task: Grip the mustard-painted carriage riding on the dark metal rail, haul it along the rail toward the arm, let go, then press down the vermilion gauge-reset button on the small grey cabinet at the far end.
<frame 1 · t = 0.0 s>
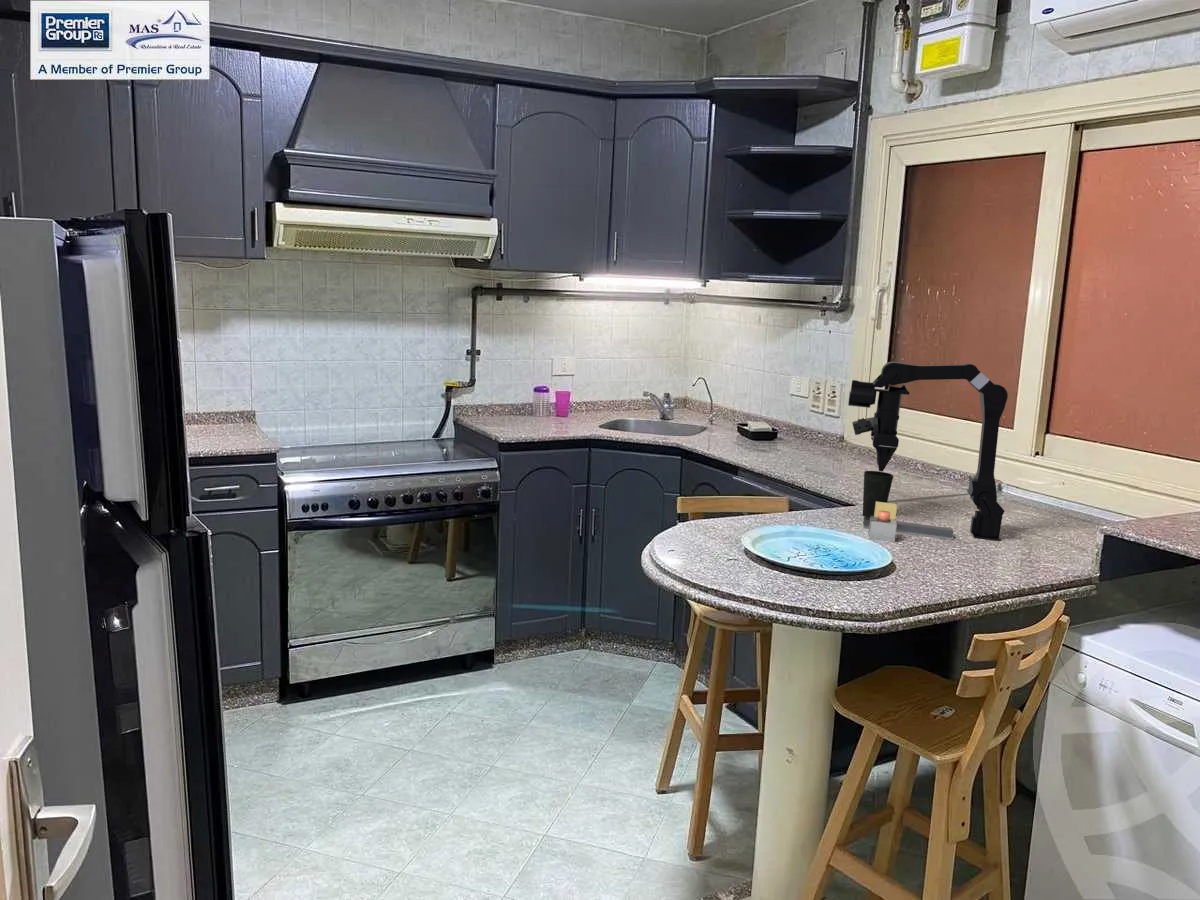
hand: (880, 468, 248), 15 cm above the breakfast bar, fingers open, 9 cm apart
rail: (906, 531, 243), on the breakfast bar
carriage: (884, 514, 243), point 4 cm above the breakfast bar, slide at 6.0 cm
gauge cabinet: (881, 537, 234), on the breakfast bar
reset button: (884, 515, 233), point 6 cm above the breakfast bar, slide at 0.0 cm
cup: (872, 517, 257), on the breakfast bar
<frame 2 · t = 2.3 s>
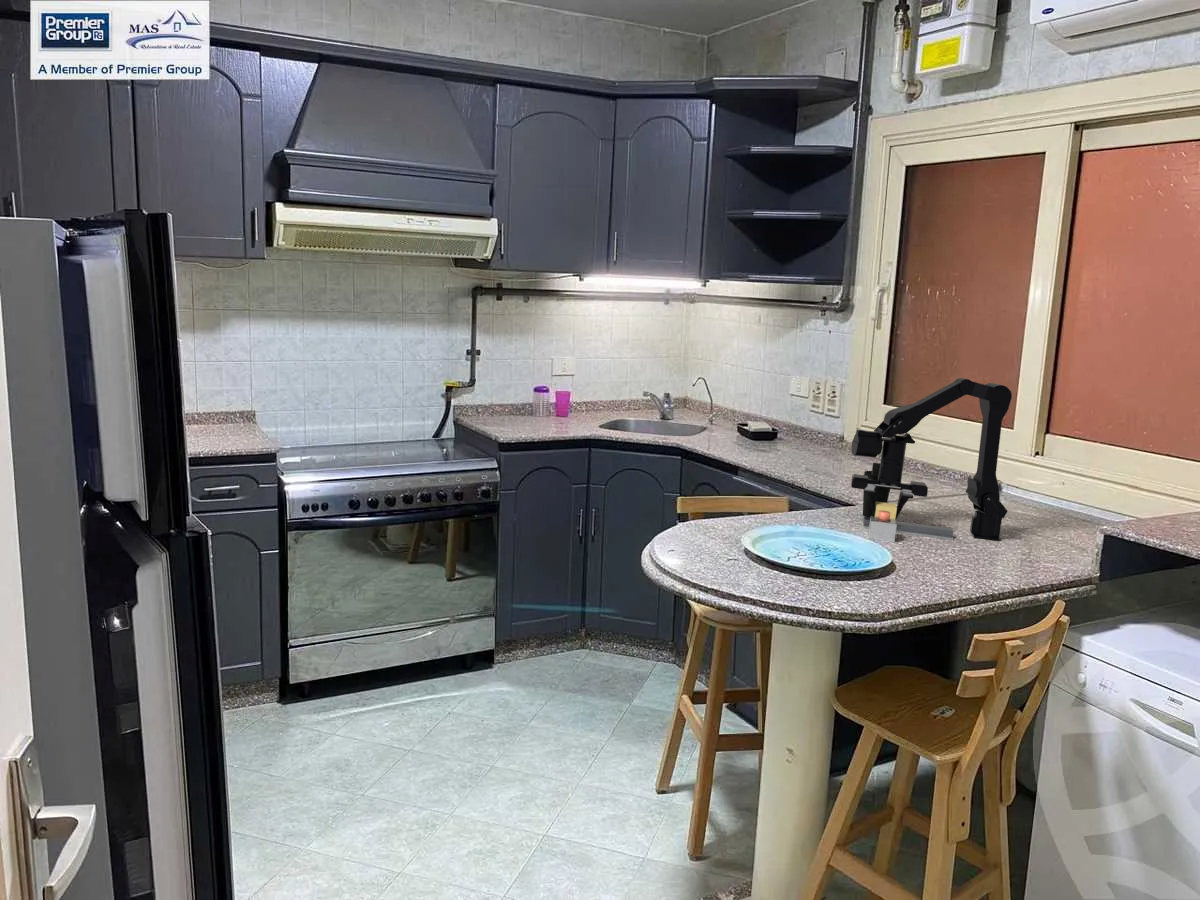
hand: (884, 517, 244), 3 cm above the breakfast bar, fingers closed on carriage, 5 cm apart
carriage: (884, 514, 243), point 4 cm above the breakfast bar, slide at 6.0 cm, touching gripper
everything else where it was.
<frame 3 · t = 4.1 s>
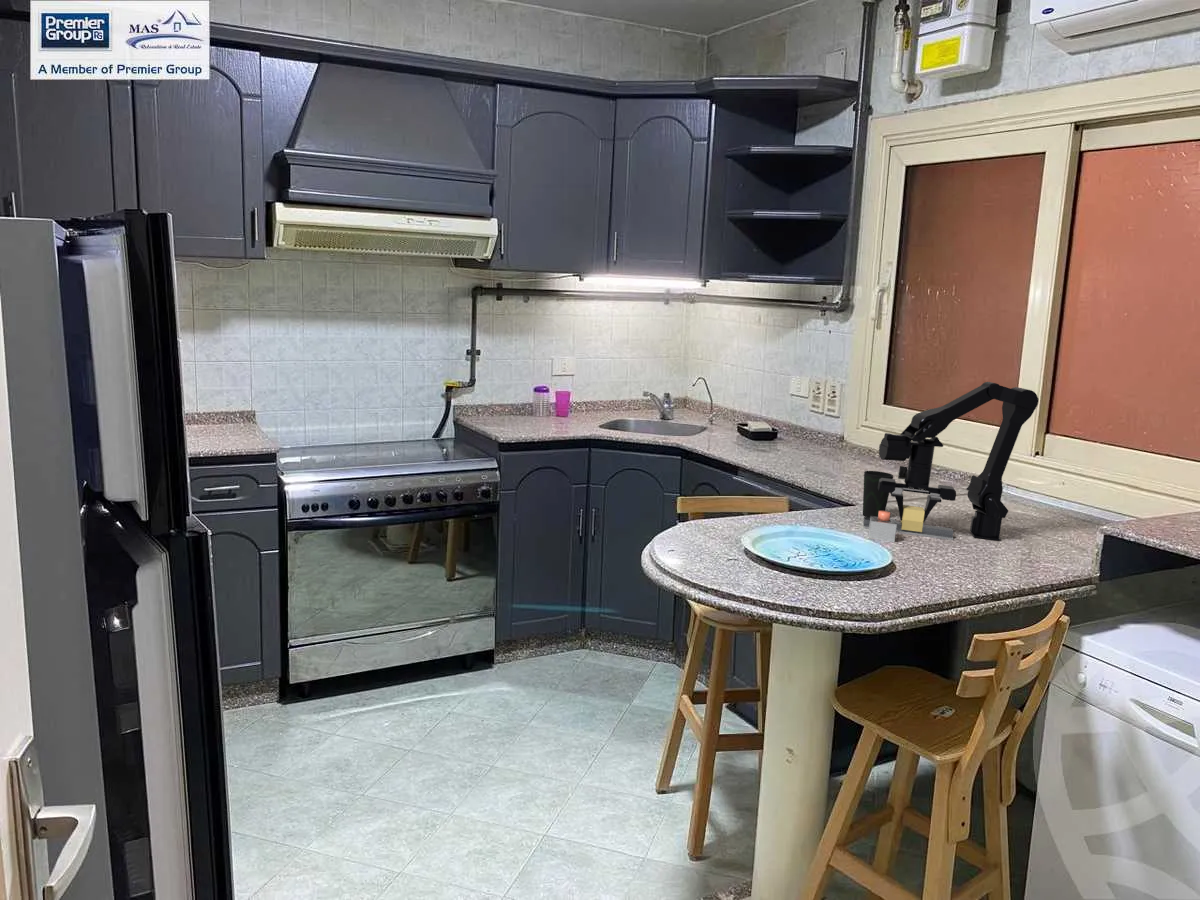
hand: (911, 521, 242), 3 cm above the breakfast bar, fingers closed on carriage, 5 cm apart
carriage: (912, 518, 242), point 4 cm above the breakfast bar, slide at -0.9 cm, touching gripper
everything else where it was.
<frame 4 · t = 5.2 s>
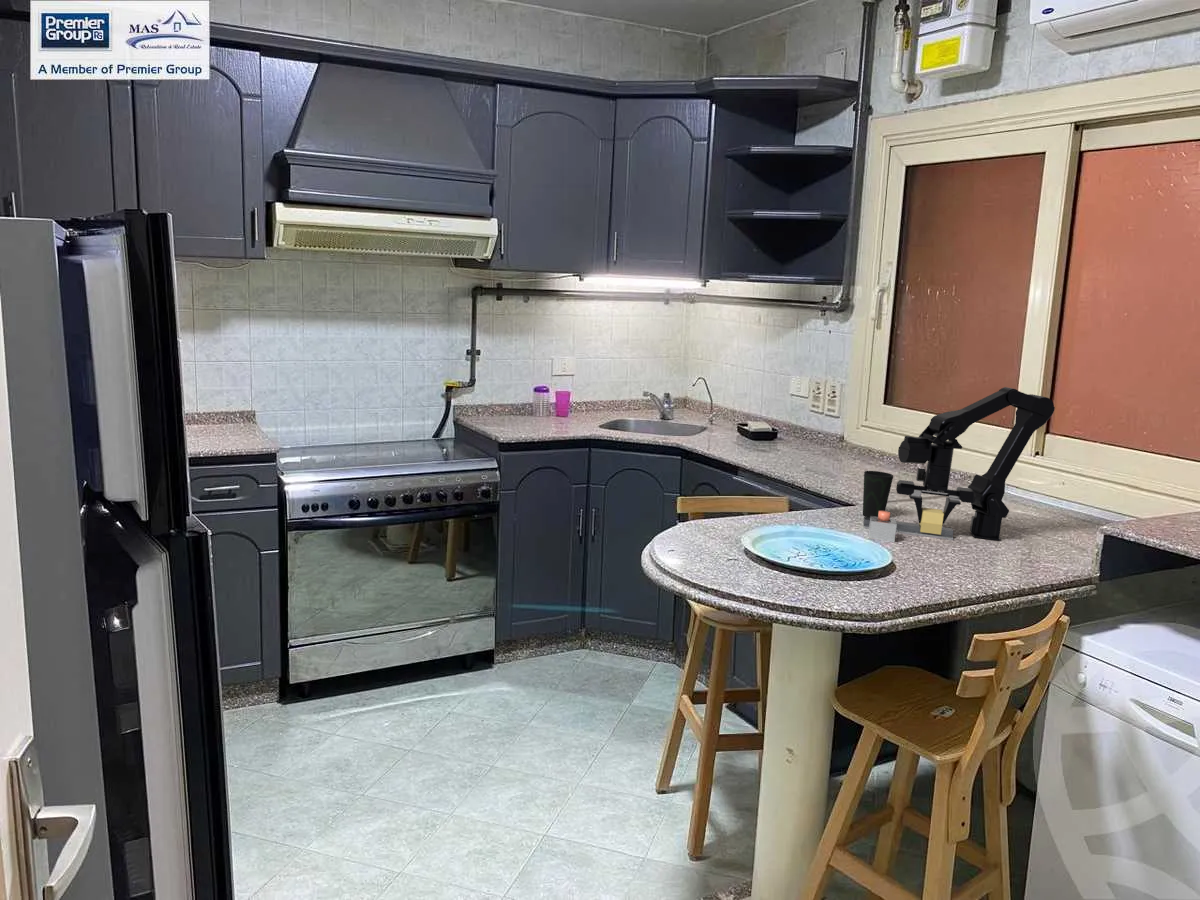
hand: (930, 524, 241), 3 cm above the breakfast bar, fingers closed on carriage, 5 cm apart
carriage: (931, 520, 241), point 4 cm above the breakfast bar, slide at -5.5 cm, touching gripper
everything else where it was.
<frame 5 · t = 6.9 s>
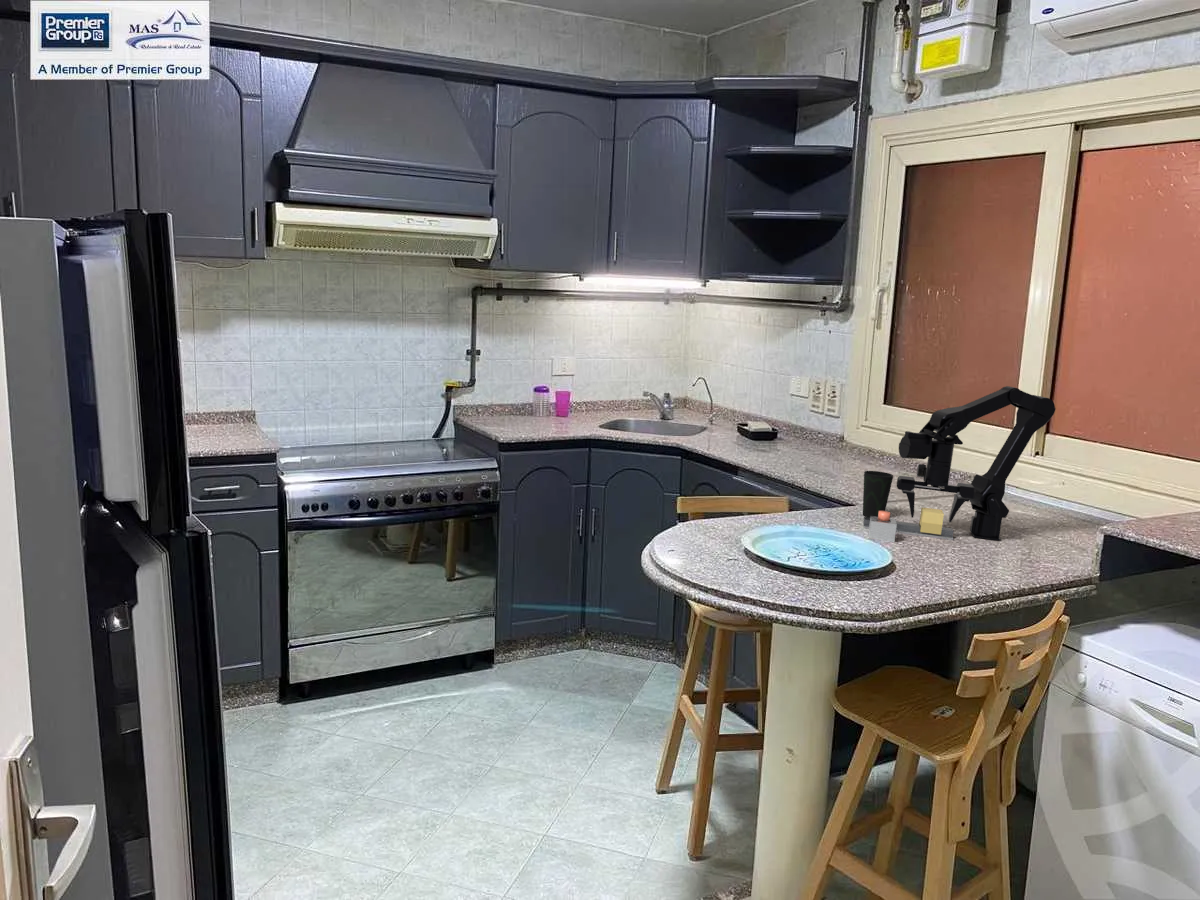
hand: (930, 519, 241), 4 cm above the breakfast bar, fingers open, 9 cm apart
carriage: (931, 520, 241), point 4 cm above the breakfast bar, slide at -5.5 cm
everything else where it was.
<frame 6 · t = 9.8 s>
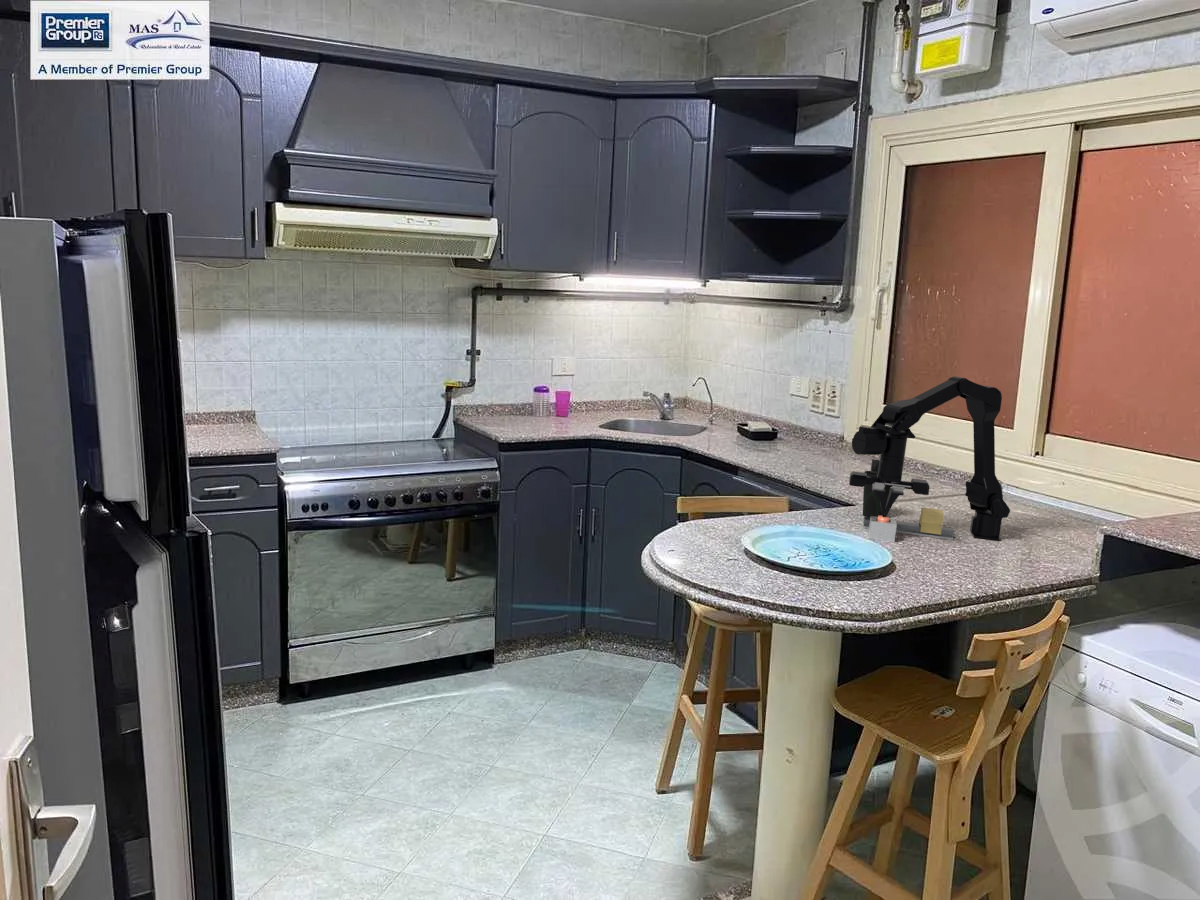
hand: (884, 516, 233), 5 cm above the breakfast bar, fingers closed, pressing on reset button
reset button: (883, 520, 233), point 4 cm above the breakfast bar, slide at -1.2 cm, touching gripper
everything else where it was.
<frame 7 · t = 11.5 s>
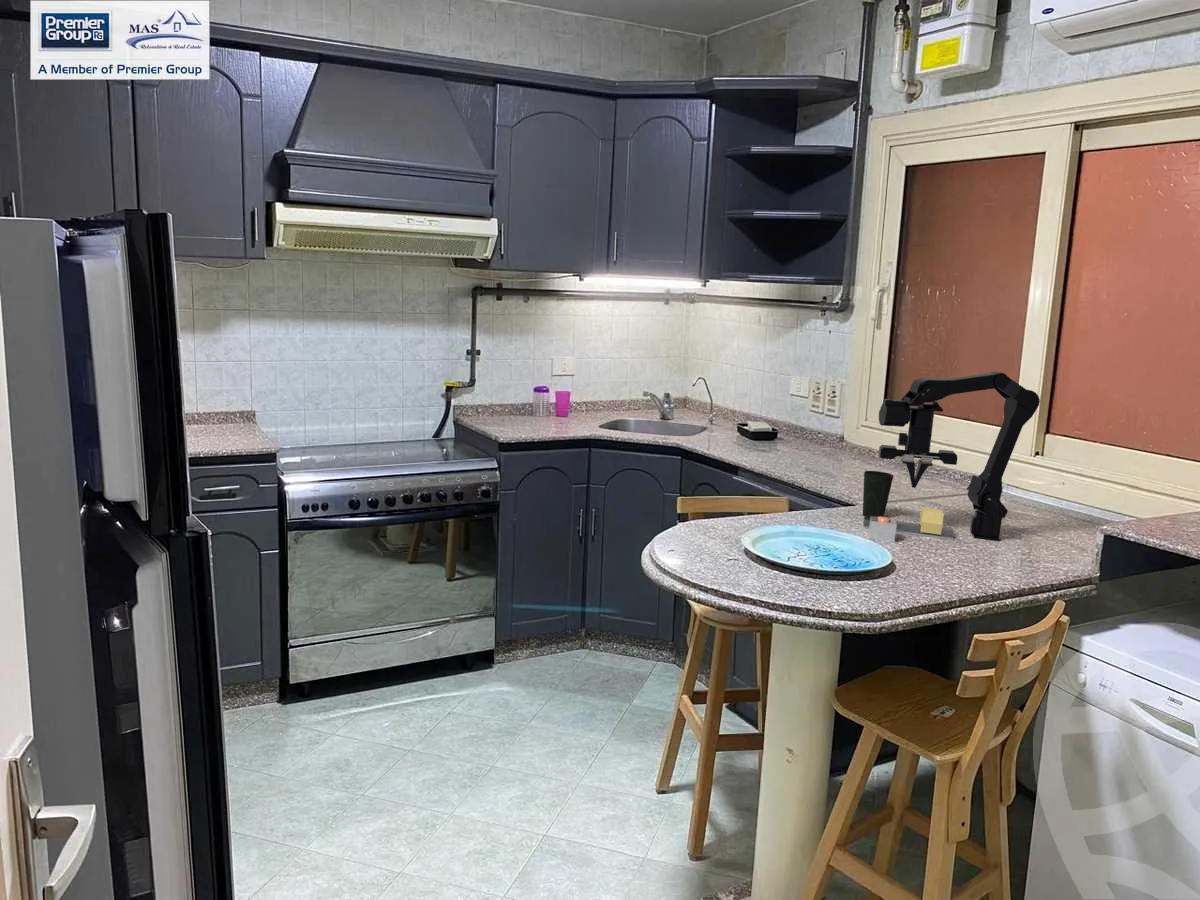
hand: (913, 487, 241), 12 cm above the breakfast bar, fingers closed
reset button: (883, 521, 233), point 4 cm above the breakfast bar, slide at -1.5 cm
everything else where it was.
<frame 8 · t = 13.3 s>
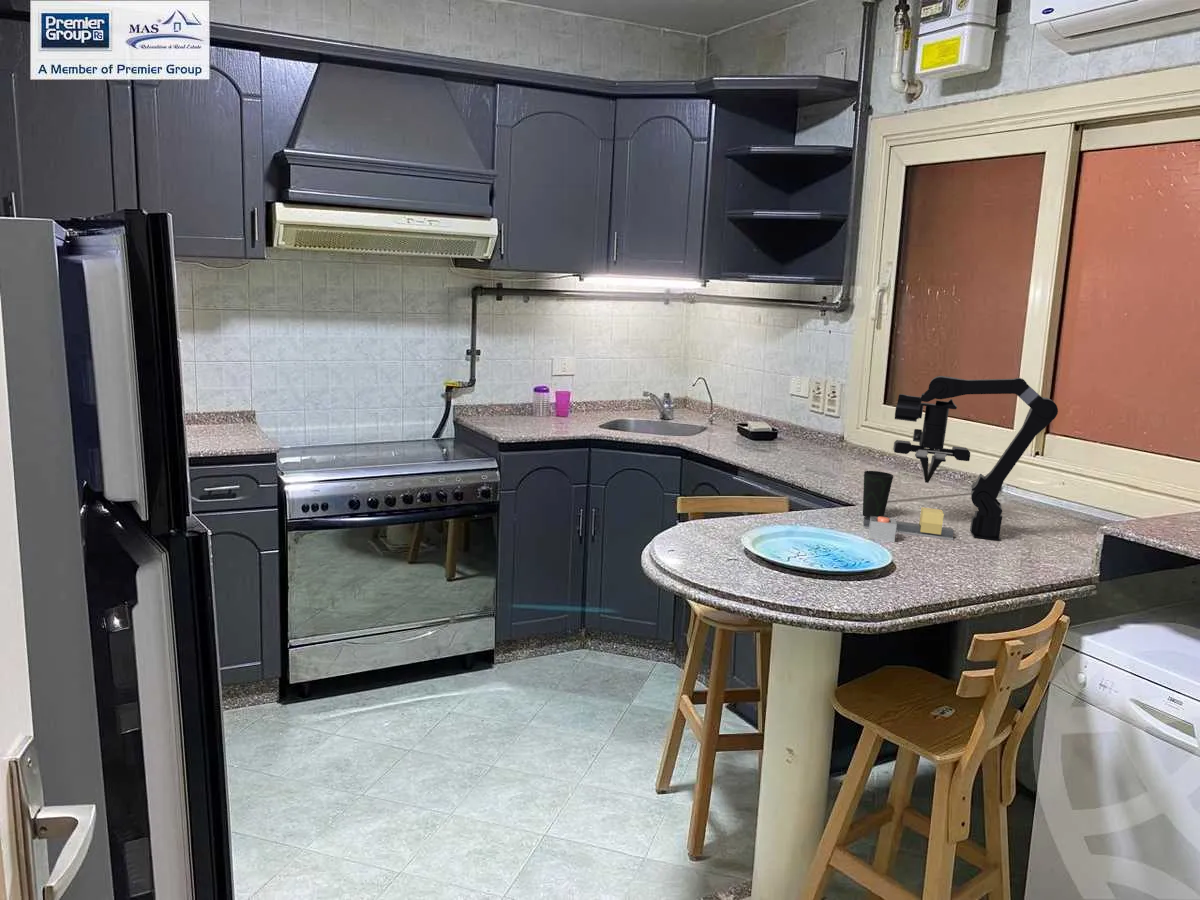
hand: (926, 482, 247), 12 cm above the breakfast bar, fingers closed
nothing on the breakfast bar moved.
at the end: carriage slide at -5.5 cm; reset button slide at -1.5 cm; the gripper is holding nothing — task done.
